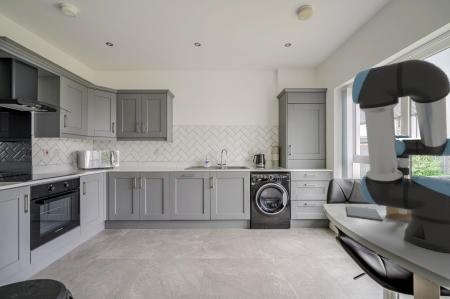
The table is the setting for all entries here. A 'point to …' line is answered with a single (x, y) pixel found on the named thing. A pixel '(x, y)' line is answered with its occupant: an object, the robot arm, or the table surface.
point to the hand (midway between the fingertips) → (399, 209)
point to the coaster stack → (397, 214)
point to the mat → (363, 213)
